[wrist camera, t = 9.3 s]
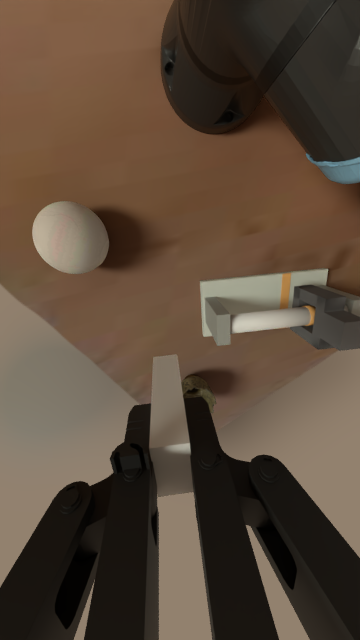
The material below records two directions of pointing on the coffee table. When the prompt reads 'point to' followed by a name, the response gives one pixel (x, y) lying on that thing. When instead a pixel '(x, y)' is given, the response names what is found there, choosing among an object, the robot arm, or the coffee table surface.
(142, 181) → the coffee table surface
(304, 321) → the pipe stand
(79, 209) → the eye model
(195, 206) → the coffee table surface
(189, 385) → the cup
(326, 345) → the collar
